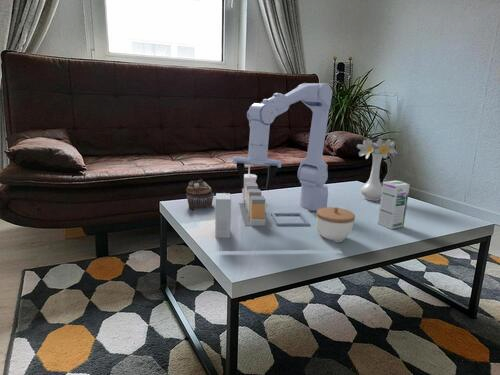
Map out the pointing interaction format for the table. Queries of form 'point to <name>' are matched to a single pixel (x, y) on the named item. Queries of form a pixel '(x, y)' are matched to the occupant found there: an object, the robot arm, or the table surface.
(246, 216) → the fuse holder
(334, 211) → the lidded jar
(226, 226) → the skincare box
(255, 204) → the block
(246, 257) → the table surface
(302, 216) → the tray
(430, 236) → the table surface
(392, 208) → the syrup box
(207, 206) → the cupcake
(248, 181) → the smoothie
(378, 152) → the flower vase
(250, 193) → the block
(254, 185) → the block
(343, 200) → the table surface
